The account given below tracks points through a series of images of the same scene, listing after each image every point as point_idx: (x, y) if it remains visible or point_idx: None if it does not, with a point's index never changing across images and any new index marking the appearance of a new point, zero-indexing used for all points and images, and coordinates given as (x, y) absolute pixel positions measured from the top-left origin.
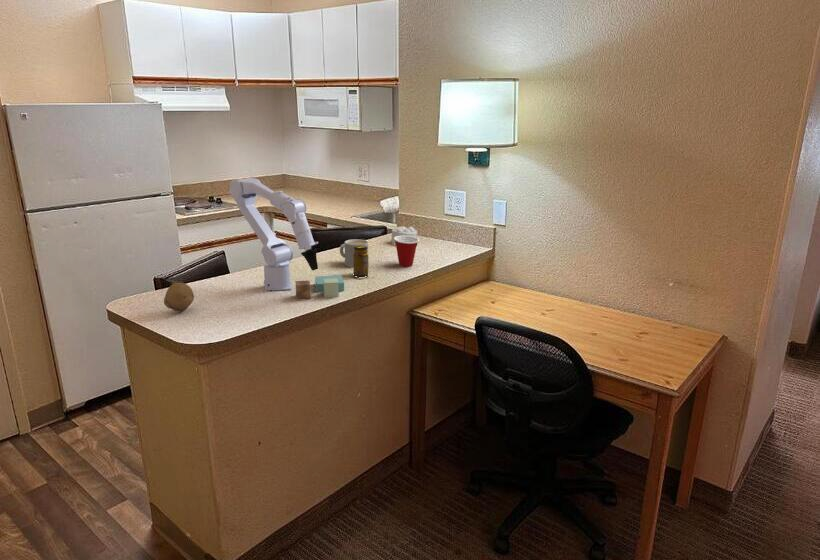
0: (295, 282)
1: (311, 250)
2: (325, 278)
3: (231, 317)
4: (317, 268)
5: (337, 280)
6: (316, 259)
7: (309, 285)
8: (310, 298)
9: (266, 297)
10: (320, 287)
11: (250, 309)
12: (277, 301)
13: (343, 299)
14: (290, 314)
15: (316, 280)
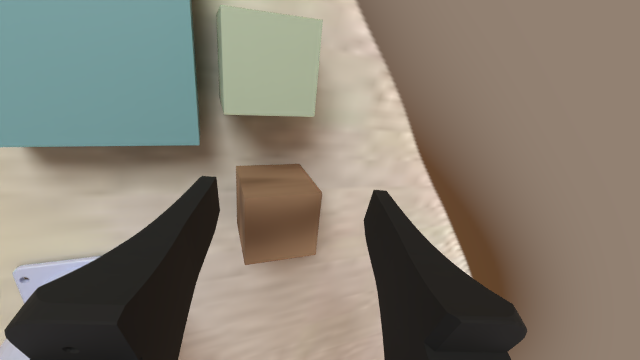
0: (265, 261)
1: (502, 351)
2: (44, 73)
3: None
4: (388, 195)
5: (279, 15)
6: (426, 240)
7: (319, 194)
8: (299, 166)
9: (243, 314)
10: (198, 118)
11: (345, 324)
12: (295, 274)
13: (341, 9)
14: (421, 222)
15: (106, 142)
